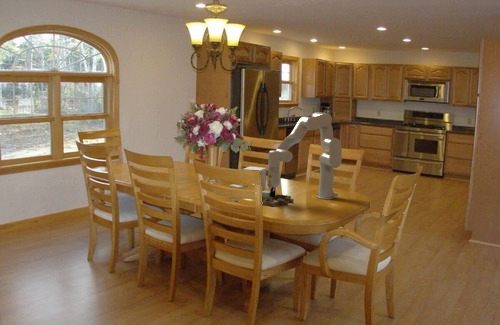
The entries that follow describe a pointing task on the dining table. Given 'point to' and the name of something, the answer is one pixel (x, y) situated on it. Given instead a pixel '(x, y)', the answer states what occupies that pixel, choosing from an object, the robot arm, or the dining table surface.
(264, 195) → the block
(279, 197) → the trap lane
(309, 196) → the dining table surface
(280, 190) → the dining table surface
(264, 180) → the supplement box
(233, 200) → the ink box
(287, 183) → the dining table surface
